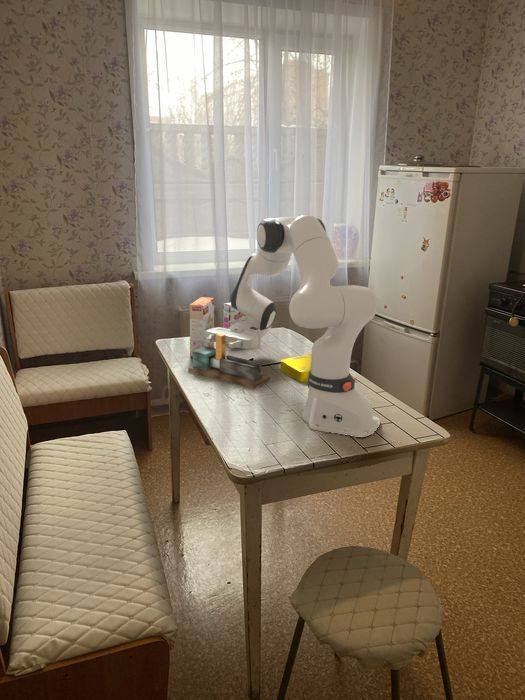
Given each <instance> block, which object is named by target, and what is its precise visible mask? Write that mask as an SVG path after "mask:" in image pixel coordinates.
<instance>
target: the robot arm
mask: <svg viewBox="0 0 525 700" xmlns="http://www.w3.org/2000/svg"><path fill="white" fill-rule="evenodd" d="M326 230H327V229H326V226H325V224H324V221H322V220H321V219H320V218H316V217H315V216H314V215H312V214H311V215H310V214H304V215H299V216H281V217H275V218H274V217H269V218H265V219H262V220H261V221H260V222H259V224H258V225H257V229H256V241H257V244H258V251H257V252H253V253H252V254H250V256H249V257H248V258H247V260H246V261H245V263H244V266H243V268H242V269H241V270H242V271H241V273H240V275H239V278H238V279H237V283H236V285H235V287H234V288H233V290H232V292H231V294H230V296H229V301H230V302H231V306H232V307H233V308H234V309H236V310H238V311H240V312H242V313H243V314H245V315H246V316H248V319H246V320H244V321H240V322H238V323H235V324H233V325H232V326H231V327H230V329H226V328H223V327H222V326H221V327H220V326H219V327H214V328H212V329H208V330H206V331H205V338H206V342H207V343H213V342H214V343H216V335H217V334H219V333H221V334H225V345H228V348H229V349H235V348H240V349H245V350H253V349H257V348H259V347H261V344H262V343H261V342H262V338H263V337H265V336H266V335H267V334H268V333H269V332H270V330H271V329H272V325H273V323H274V322H275V320H276V317H277V306H276V303H274V301H272V300H270V299H269V298H268V297H266V296H265V295H262V294H261V293H259V292H258V291H257V290H255V289H254V288H253V287H252V283H253V281H254V278H255V276H256V275H260V276H261V275H262V276H264V277H275V276H278V275H281V274H282V273H283V272H285V270H286V269H287V268H288V265H289V262H290V260H291V255H292V254H293V255H294V259H295V261H296V264H297V267H298V271H299V275H300V286H299V288H298V289H297V290H296V292H294V294H292V297H291V298H290V302H289V305H288V306H289V307H288V309H289V315H290V318H291V320H292V321H293V323H294V324H295V325H296V326H297V327H301V328H307V329H322V328H323V329H324V328H327V329H326V331H325V333H324V334H323V335H322V336H321V337H319V338H317V340H315V341H314V343H313V345H312V346H311V349H310V350H311V353H310V354H311V369H310V370H309V376H308V382H307V387H308V391H307V398H306V401H305V405H304V409H303V410H302V411H303V412H302V416H301V417H302V419H303V420H304V421H305V422H306V423H307V425H308V427H309V429H311V430H314V431H319V432H325V433H329V432H331V433H330V434H334V433H339V434H338V435H340V434H347V435H353V436H366V435H368V434H371V433H372V432H373V431H375V430H376V429H377V427H378V426H379V425H380V426H381V420H380V418H379V417H378V416H376V415H374V411H373V403H371V401H370V400H369V399H368V398H367V397H366V396H364V394H362V393H361V392H360V390H358V389H357V388H356V386H355V383H356V382H357V381H358V376H355V377H353V376H352V375H351V372H350V367H351V358H352V353H353V348H354V344H355V342H356V340H357V338H358V336H359V334H360V333H361V331H362V330H363V328H364V327H365V326H366V324H368V323H369V322H370V321H371V320H373V318H374V317H375V315H376V314H377V312H378V306H379V305H378V303H379V302H378V298H377V295H376V294H375V291H374V290H372V288H370V287H367V286H361V285H356V284H353V285H352V284H350V285H339V286H335V285H334V286H333V285H331V284H330V282H329V281H330V280H332V279H333V278H334V277H335V275H336V274H337V272H338V270H339V260H338V258H337V255H336V253H335V249H334V248H333V245H332V243H331V241H330V240H331V239H330V238H329V235H328V233H327V231H326ZM230 302H229V303H230ZM375 421H377V422H375ZM365 432H367V433H365Z"/></svg>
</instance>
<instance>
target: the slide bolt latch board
mask: <svg viewBox="0 0 525 700" xmlns="http://www.w3.org/2000/svg"><path fill="white" fill-rule="evenodd" d="M212 355H213V356H216V347H215V348H210V347H206V346H204V347H202V348H199V349H197V350H194V351H193V357H192V366H191V365H190V366H189V367H188V368H187V372H188V373H190V374H191V373H193V374H196V375H199V376H204V377H207V378H211V379H214V380H218V381H222V382H225V383H230V384H234V385H236V386H237V385H238V386H241V387H245V388H249V389H251V390H256V389H257V388H259V387H260V386H262V385H264V384H266V383H267V382H269V381H270V380H271V376H270V375H267V374H264V373H262V362H258V361H254V360H250V359H246V358H241V357H236V356H233V355H229V354H228V355H225V359H222V358H221V359H220V369H219V368H215V367H211V366H209V357H210V356H212ZM226 359H230V360H232V361H230V360H226Z"/></svg>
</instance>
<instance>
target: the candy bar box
mask: <svg viewBox="0 0 525 700" xmlns="http://www.w3.org/2000/svg"><path fill="white" fill-rule="evenodd" d="M222 310H223V311H222V314H223V318H222V319H223V320H222V321H223V322H222V323H223V326H222V328H226V329H230V327H231V326H232V325H233V324H235V323H238V322H240V321H244V320H246V319H248V316H246V315H245V314H243V313H242V312H240V311H238V310H236V309H234V308H233V307H232V306H231V302H226V303H223V309H222Z"/></svg>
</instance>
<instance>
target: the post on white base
mask: <svg viewBox="0 0 525 700" xmlns="http://www.w3.org/2000/svg"><path fill="white" fill-rule="evenodd" d="M215 349H216V356H213V355H212V356H210V357H209V366H211V367H215V368H219V369H220V359H221V358H222V359H226V360H230V359H227V358H226V344H225V334H221V333H219V334H217V335H216V342H215ZM230 361H232V360H230Z"/></svg>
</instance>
